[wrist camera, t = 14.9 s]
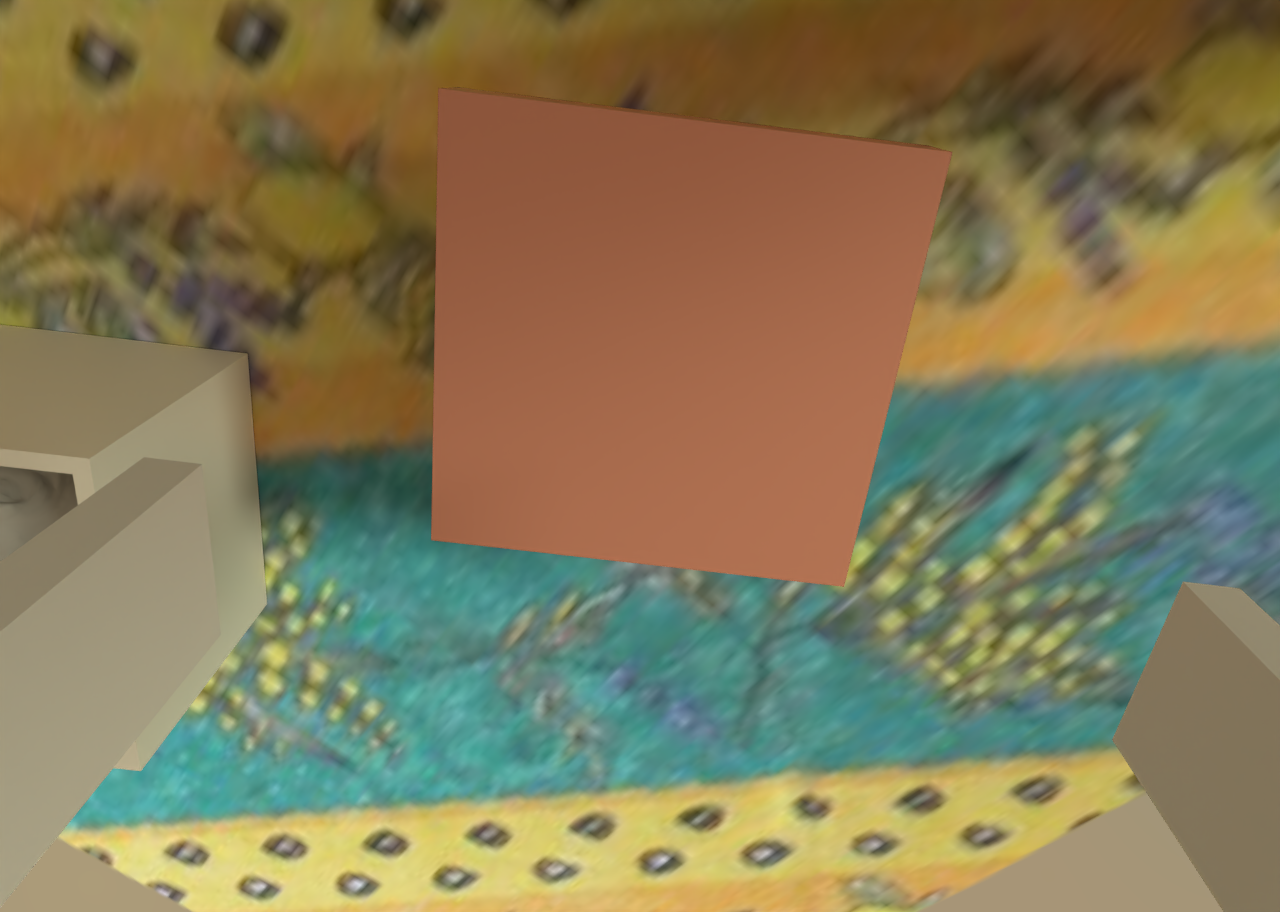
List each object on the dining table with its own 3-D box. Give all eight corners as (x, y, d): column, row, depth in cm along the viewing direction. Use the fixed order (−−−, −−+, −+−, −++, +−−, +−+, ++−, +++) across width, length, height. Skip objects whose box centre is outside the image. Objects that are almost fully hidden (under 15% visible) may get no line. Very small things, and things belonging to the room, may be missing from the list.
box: (-26, 321, 30) (-291, 415, 21) (247, 353, 30) (89, 458, 22) (27, 577, 34) (-176, 737, 26) (267, 603, 34) (140, 771, 26)
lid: (466, 86, 22) (438, 88, 19) (917, 142, 22) (952, 152, 20) (455, 492, 27) (431, 539, 24) (825, 534, 27) (843, 586, 24)
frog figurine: (84, 353, 30) (-73, 427, 24) (253, 475, 32) (151, 575, 26) (9, 468, 32) (-155, 565, 26) (173, 577, 34) (58, 693, 27)
